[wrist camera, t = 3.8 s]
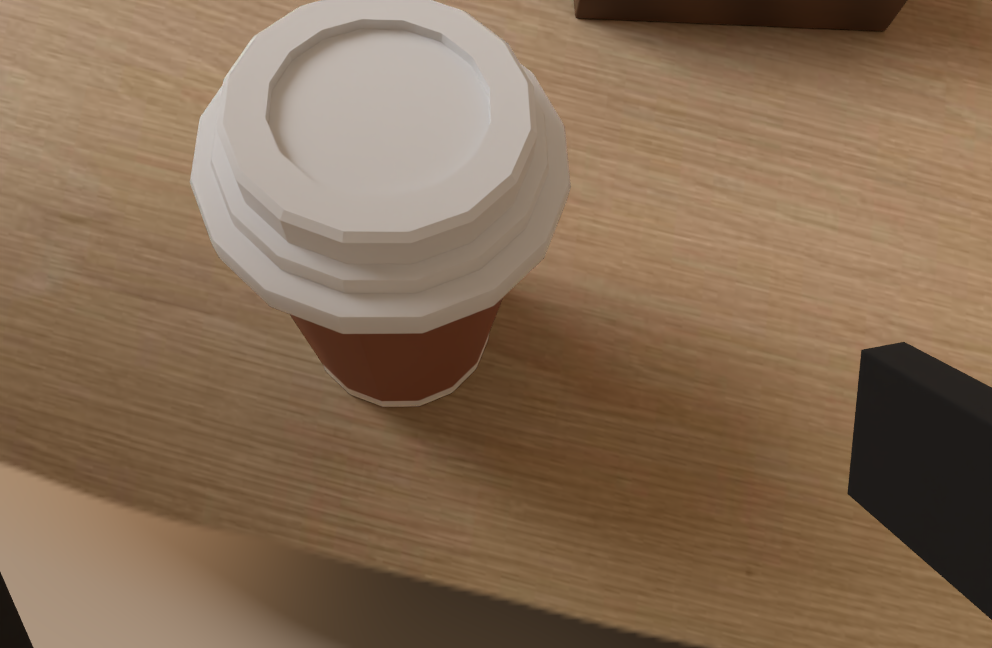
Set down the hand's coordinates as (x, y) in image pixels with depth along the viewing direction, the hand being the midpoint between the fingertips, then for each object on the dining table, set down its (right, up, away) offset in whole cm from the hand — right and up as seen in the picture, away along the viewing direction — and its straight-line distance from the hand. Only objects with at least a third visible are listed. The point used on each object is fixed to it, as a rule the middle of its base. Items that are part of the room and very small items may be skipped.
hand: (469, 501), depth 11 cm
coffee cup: (-3, +3, +16) cm, 17 cm away
